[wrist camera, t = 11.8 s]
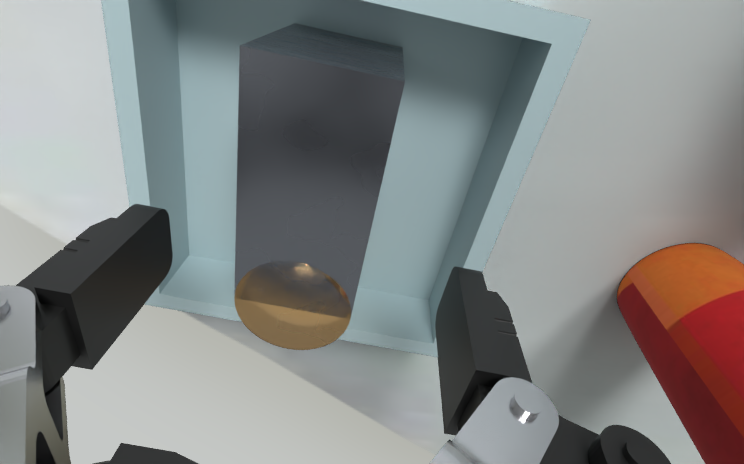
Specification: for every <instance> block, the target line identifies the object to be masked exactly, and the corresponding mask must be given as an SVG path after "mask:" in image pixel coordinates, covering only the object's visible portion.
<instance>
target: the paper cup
mask: <svg viewBox="0 0 744 464" xmlns="http://www.w3.org/2000/svg"><path fill="white" fill-rule="evenodd" d="M617 303H618V306H619V309H620V311H621V313H622V315H623V317H624V319H625V321H626V323H627V325H628V327H629V329H630V331H631V333H632V334H633V336H634V338H635V340H636V342H637V344H638V345H639V347H640V349H641V351H642V352H643V354H644V356H645V358H646V360H647V361H648V363H649V365H650V367H651V369H652V370H653V372H654V374H655V376H656V378H657V379H658V381H659V383H660V385H661V386H662V388H663V390H664V392H665V393H666V395H667V397H668V399H669V401H670V402H671V404H672V406H673V408H674V409H675V411H676V413H677V415H678V416H679V418H680V420H681V422H682V424H683V425H684V427H685V429H686V431H687V432H688V434H689V436H690V438H691V439H692V441H693V443H694V445H695V446H696V448H697V450H698V452H699V453H700V455H701V457H702V459H703V460H704V462H705V464H744V264H742V263H741V262H740V261H738V260H737V259H735V258H733V257H732V256H730V255H729V254H727V253H726V252H724V251H722V250H720V249H718V248H716V247H714V246H711V245H707V244H701V243H685V244H678V245H674V246H670V247H666V248H664V249H661V250H658V251H656V252H654V253H652V254H650V255H648V256H647V257H645V258H643V259H642V260H640V261H639V262H638V263H637V264H635V265H634V266H633V267H632V268H631V269H630V270H629V271H628V272H627V274H626V275H625V276H624V278H623V279H622V281H621V283H620V285H619V288H618V291H617Z"/></svg>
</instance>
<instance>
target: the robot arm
mask: <svg viewBox="0 0 744 464" xmlns="http://www.w3.org/2000/svg"><path fill="white" fill-rule="evenodd" d="M172 259H173V252H172V242H171V231H170V221H169V214H168V212H167V210H165V209H162V208H157V207H151V206H146V205H141V204H134V205H132V206H131V207H129V208H128V209H127V210H126V211H125V212H123V213H122V214H121V215H120V216H119V217H118V218H109V219H107V220H104V221H102V222H100V223H97V224H95V225H92V226H90V227H89V228H88V229H87V230H85V231H84V232H83V233H82V234H80V235H79V236H78V237H76V240H73V241H71V242H70V243H69V244H68V245H66V246H65V247H64V250H60V251H59V252H58V253H56V254H55V255H54V256H52V257H51V258H50V259H49V260H47V261H46V262H45V263H44V264H42V265H41V266H40V267H39V268H37V269H36V270H35V271H34V272H32V273H31V274H30V275H29V276H28V277H26V278H25V279H23V280H22V281H21V282H20V283H19V284H17V285H16V286H9V285H7V286H0V464H71V461H70V456H69V447H68V431H67V416H66V401H65V384H64V380H63V378H62V376H63V375H64V374H65V373H66V372H67V370H68V369H69V368H70V367H71V366H75V367H80V368H86V369H93V368H94V366H95V365H96V364H97V363H98V361H99V360H100V359H101V358H102V356H103V355H104V354H105V353H106V351H107V350H108V349H109V348H110V346H111V345H112V344H113V343H114V341H115V340H116V339H117V337H118V336H119V335H120V334H121V333H122V331H123V330H124V329H125V328H126V326H127V325H128V324H129V323H130V321H131V320H132V319H133V318H134V316H135V315H136V314H137V312H138V311H139V310H140V309H141V307H142V306H143V305H144V304H145V303H146V301H147V300H148V299H149V298H150V296H151V295H152V294H153V293H154V291H155V290H156V289H157V288H158V286H159V285H160V284H161V282H162V281H163V280H164V279H165V277H166V276H167V274H168V273H169V270H170V268H171V265H172ZM512 323H513V320H512V317H511V314H510V311H509V308H508V306H507V305H506V303H505V302H504V301H503V300H502V298H501V297H500V296H499V294H498V293H497V292H492V291H487V288H486V285H485V281H484V277H483V274H482V272H481V271H477V270H472V269H467V268H462V267H456V266H455V267H454V268H453V269H452V271H451V273H450V276H449V279H448V281H447V284H446V287H445V289H444V292H443V295H442V298H441V300H440V303H439V306H438V309H437V314H436V321H435V330H436V342H437V353H438V365H439V376H440V388H441V400H442V411H443V423H444V433H445V434H451V435H456V436H455V438H454V439H453V440H452V441H451V440H449V441H447V443H446V444H445V445H444V446H443V447H442V448H441V450H440V451H439V452H438V453H437V455H436V456H435V457H434V458H433V460H432V461H431V462H430V464H671V463H670V461H669V460H668V458H667V457H666V456H665V454H664V453H663V452H662V451H661V450H660V448H658V447H657V446H656V445H655V444H654V443H653V442H652V441H651V440H650V439H648V438H647V437H646V436H644V435H643V434H641V433H639V432H638V431H636V430H634V429H631V428H629V427H626V426H621V425H612V426H608V427H607V428H605V429H604V430H603V431H602V433H601V434H600V435H598V434H596V433H594V432H591V431H589V430H587V429H585V428H583V427H581V426H579V425H577V424H574V423H572V422H570V421H568V420H566V419H564V418H562V417H561V416H559V415H558V412H557V409H556V407H555V405H554V404H553V402H552V401H551V399H550V398H549V397H548V396H547V394H545V393H544V392H543V391H542V390H541V389H540V388H539V387H537V386H536V385H534V384H532V381H531V378H530V375H529V371H528V368H527V365H526V362H525V359H524V356H523V352H522V349H521V346H520V343H519V340H518V337H516V334H517V333H516V330H515V327H514V324H512ZM94 464H198V463H196V462H194V461H192V460H190V459H188V458H186V457H184V456H182V455H180V454H178V453H176V452H171V451H165V450H159V449H153V448H147V447H142V446H136V445H130V444H124V443H121V444H120V446H119V448H118V449H117V451H116V452H115V454H114V456H113V457H112V459H111V460H110V461H104V462H99V463H94Z"/></svg>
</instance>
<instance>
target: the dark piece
mask: <svg viewBox="0 0 744 464" xmlns="http://www.w3.org/2000/svg"><path fill="white" fill-rule="evenodd" d="M404 84H405V74H404V59H403V47H399V46H395V45H390V44H386V43H382V42H377V41H373V40H368V39H364V38H359V37H355V36H350V35H346V34H341V33H337V32H332V31H328V30H323V29H319V28H314V27H310V26H305V25H301V24H296V23H294V24H291V25H289V26H286V27H284V28H281V29H279V30H276V31H274V32H271V33H269V34H267V35H264V36H262V37H259V38H257V39H254V40H252V41H249V42H247V43H244V44H242V45H240V53H239V101H238V148H237V195H236V242H235V290H234V301H235V307H236V311H237V313H238V316H239V317H240V319H241V321H242V322H243V323H244V325H245V326H246V327H247V328H248V329H249V330H250V331H251V332H252V333H254V334H255V335H256V336H258V337H259V338H261V339H263V340H264V341H266V342H268V343H271V344H273V345H276V346H279V347H283V348H287V349H294V350H309V349H315V348H319V347H323V346H325V345H328V344H330V343H332V342H334V341H335V340H336V339H338V338H339V337H340V336H341V335H342V334H343V333H344V332H345V330H346V329H347V327H348V325H349V322H350V319H351V314H352V310H353V306H354V301H355V297H356V293H357V288H358V284H359V280H360V275H361V271H362V267H363V262H364V258H365V254H366V249H367V245H368V241H369V236H370V232H371V228H372V223H373V219H374V214H375V210H376V206H377V201H378V197H379V193H380V188H381V184H382V180H383V175H384V171H385V167H386V162H387V158H388V154H389V149H390V145H391V141H392V136H393V132H394V127H395V123H396V119H397V114H398V110H399V106H400V101H401V97H402V93H403V88H404Z"/></svg>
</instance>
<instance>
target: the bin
mask: <svg viewBox="0 0 744 464" xmlns="http://www.w3.org/2000/svg"><path fill="white" fill-rule="evenodd" d="M101 3H102V10H103V17H104V24H105V32H106V39H107V46H108V54H109V61H110V68H111V75H112V83H113V90H114V97H115V104H116V112H117V119H118V126H119V133H120V141H121V148H122V155H123V162H124V170H125V177H126V184H127V192H128V199H129V206H130V207H131V206H132V205H134V204H141V205H146V206H151V207H157V208H162V209H165V210H167V212H168V214H169V221H170V231H171V242H172V252H173V259H172V265H171V268H170V270H169V273H168V274H167V276H166V277H165V279H164V280H163V281H162V282H161V284H160V285H159V286H158V288H157V289H156V290H155V291H154V293H153V294H152V295H151V296H150V298H149V299H148V300H147V301H146V303H145V305H151V306H156V307H162V308H168V309H174V310H178V311H184V312H190V313H195V314H201V315H206V316H212V317H217V318H223V319H228V320H234V321H239V322H242V321H241V319H240V317H239V316H238V313H237V311H236V307H235V301H234V290H235V242H236V195H237V148H238V101H239V53H240V45H242V44H244V43H247V42H249V41H252V40H254V39H257V38H259V37H262V36H264V35H267V34H269V33H271V32H274V31H276V30H279V29H281V28H284V27H286V26H289V25H291V24H294V23H296V24H301V25H305V26H310V27H314V28H319V29H323V30H328V31H332V32H337V33H341V34H346V35H350V36H355V37H359V38H364V39H368V40H373V41H377V42H382V43H386V44H390V45H395V46H399V47H403V59H404V74H405V84H404V88H403V93H402V97H401V101H400V106H399V110H398V114H397V119H396V123H395V127H394V132H393V136H392V141H391V145H390V149H389V154H388V158H387V162H386V167H385V171H384V175H383V180H382V184H381V188H380V193H379V197H378V201H377V206H376V210H375V214H374V219H373V223H372V228H371V232H370V236H369V241H368V245H367V249H366V254H365V258H364V262H363V267H362V271H361V275H360V280H359V284H358V288H357V293H356V297H355V301H354V306H353V310H352V314H351V319H350V322H349V325H348V327H347V329H346V330H345V332H344V333H343V334H342V335H341V336H340V337H339V338H338V339H339V340H345V341H350V342H356V343H361V344H367V345H372V346H378V347H384V348H389V349H395V350H400V351H406V352H411V353H417V354H422V355H428V356H433V357H438V353H437V342H436V330H435V321H436V314H437V309H438V306H439V303H440V300H441V298H442V295H443V292H444V289H445V287H446V284H447V281H448V279H449V276H450V273H451V271H452V269H453V268H454V267H455V266H456V267H462V268H467V269H472V270H477V271H481V272H483V269H484V267H485V265H486V262H487V260H488V258H489V255H490V253H491V251H492V249H493V246H494V244H495V242H496V239H497V237H498V235H499V232H500V230H501V228H502V225H503V223H504V221H505V218H506V216H507V214H508V211H509V209H510V207H511V204H512V202H513V200H514V197H515V195H516V193H517V190H518V188H519V186H520V183H521V181H522V179H523V176H524V174H525V172H526V169H527V167H528V165H529V163H530V160H531V158H532V156H533V153H534V151H535V149H536V146H537V144H538V142H539V139H540V137H541V135H542V132H543V130H544V128H545V125H546V123H547V121H548V118H549V116H550V114H551V111H552V109H553V107H554V104H555V102H556V100H557V97H558V95H559V93H560V90H561V88H562V86H563V84H564V81H565V79H566V77H567V74H568V72H569V70H570V67H571V65H572V63H573V60H574V58H575V56H576V53H577V51H578V49H579V46H580V44H581V42H582V39H583V37H584V35H585V32H586V30H587V28H588V25H589V23H590V21H591V20H590V19H585V18H581V17H577V16H572V15H568V14H564V13H560V12H555V11H551V10H547V9H543V8H538V7H534V6H530V5H525V4H521V3H517V2H513V1H508V0H101Z"/></svg>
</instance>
